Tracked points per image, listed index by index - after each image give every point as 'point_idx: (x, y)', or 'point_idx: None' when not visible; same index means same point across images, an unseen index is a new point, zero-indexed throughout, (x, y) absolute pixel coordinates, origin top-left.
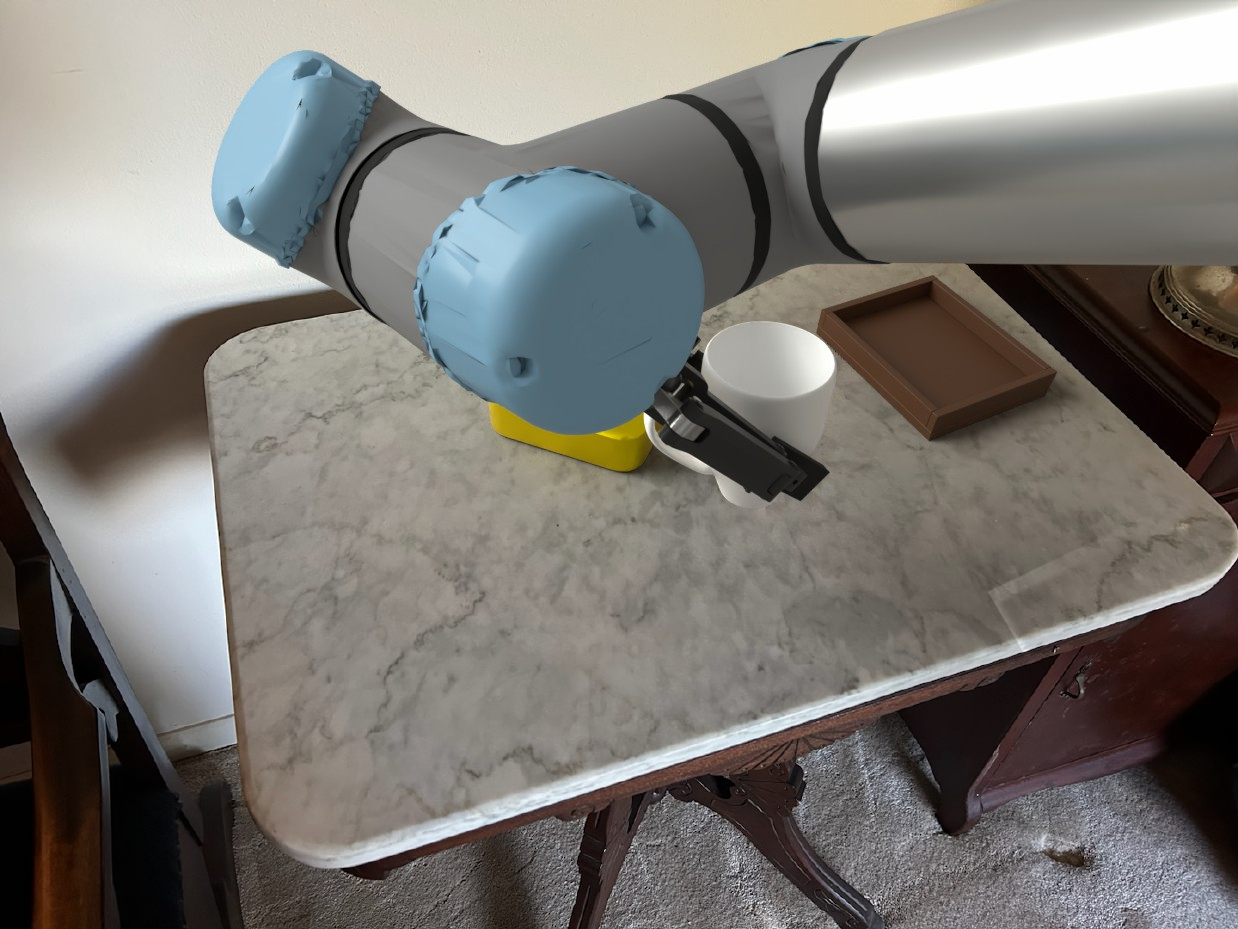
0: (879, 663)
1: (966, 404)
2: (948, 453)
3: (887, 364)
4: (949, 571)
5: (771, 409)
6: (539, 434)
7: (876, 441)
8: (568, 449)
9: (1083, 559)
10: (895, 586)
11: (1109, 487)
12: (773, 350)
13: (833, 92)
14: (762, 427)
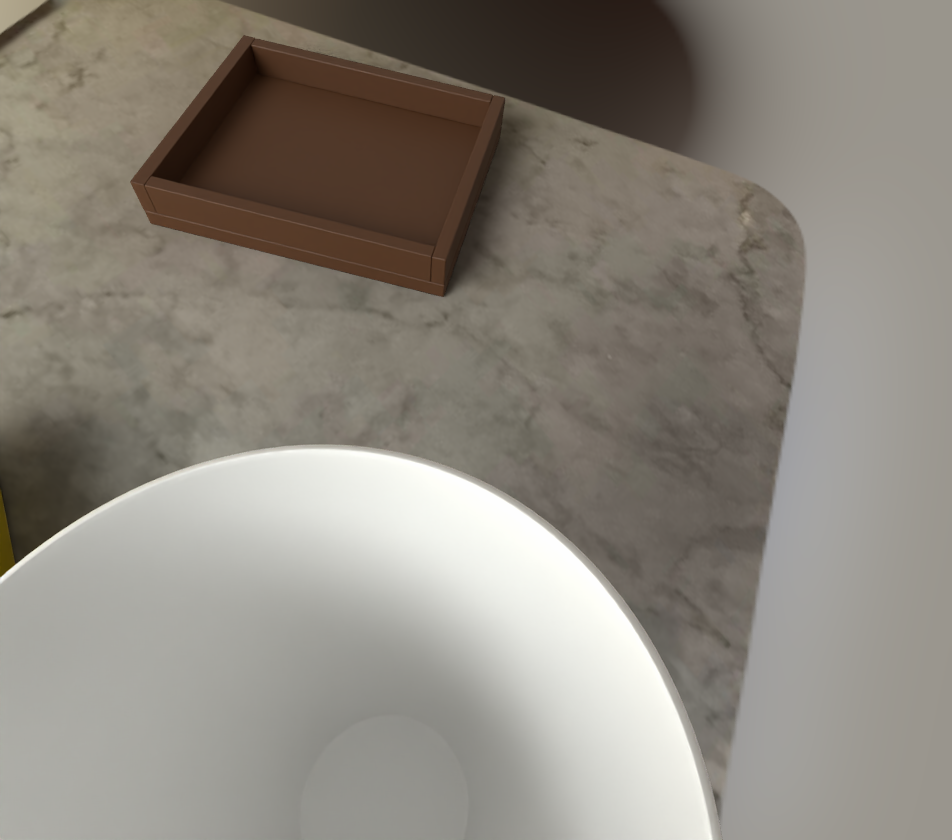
0: (709, 729)
1: (458, 214)
2: (480, 298)
3: (309, 218)
4: (637, 482)
5: None
6: None
7: (385, 349)
8: None
9: (722, 334)
10: (610, 572)
11: (656, 217)
12: (188, 567)
13: None
14: None
